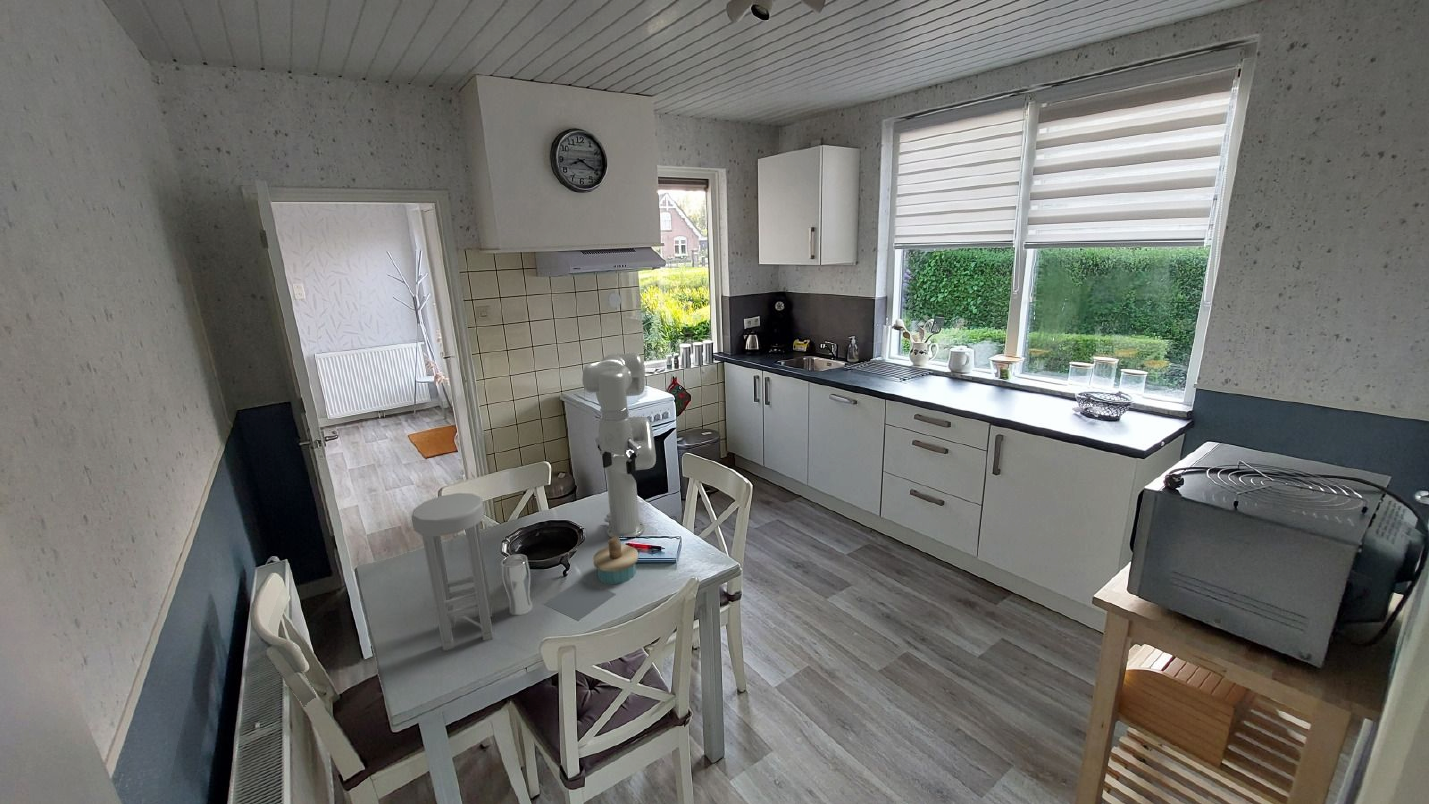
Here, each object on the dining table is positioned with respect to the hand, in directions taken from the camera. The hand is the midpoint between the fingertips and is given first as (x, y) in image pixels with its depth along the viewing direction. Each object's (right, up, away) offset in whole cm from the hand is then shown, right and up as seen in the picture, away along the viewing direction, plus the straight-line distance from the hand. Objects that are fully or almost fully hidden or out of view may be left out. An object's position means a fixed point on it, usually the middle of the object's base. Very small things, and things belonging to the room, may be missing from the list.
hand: (619, 469), depth 172 cm
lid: (-1, -26, -1) cm, 26 cm away
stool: (-35, -39, -23) cm, 57 cm away
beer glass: (-24, -36, -15) cm, 46 cm away
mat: (-9, -35, -12) cm, 38 cm away
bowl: (-1, -31, 0) cm, 31 cm away
